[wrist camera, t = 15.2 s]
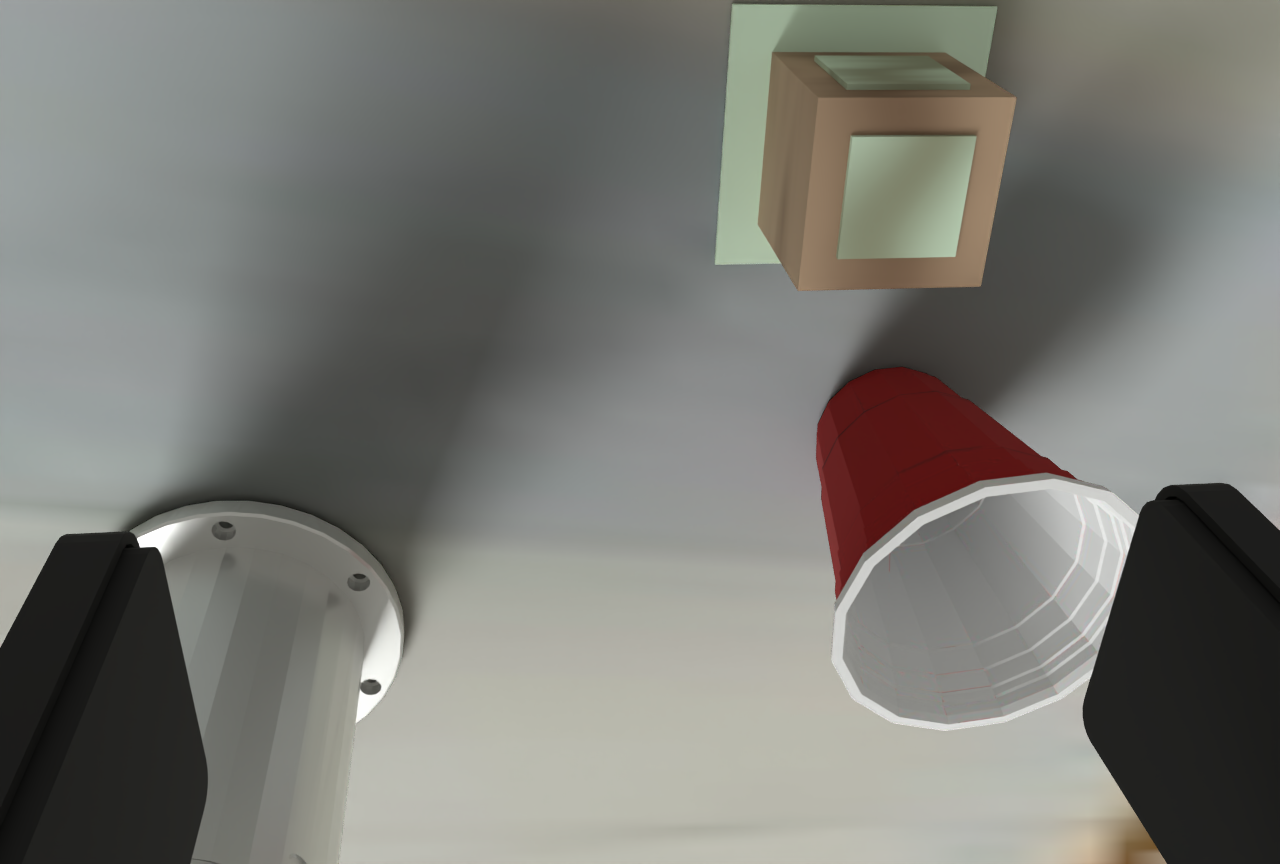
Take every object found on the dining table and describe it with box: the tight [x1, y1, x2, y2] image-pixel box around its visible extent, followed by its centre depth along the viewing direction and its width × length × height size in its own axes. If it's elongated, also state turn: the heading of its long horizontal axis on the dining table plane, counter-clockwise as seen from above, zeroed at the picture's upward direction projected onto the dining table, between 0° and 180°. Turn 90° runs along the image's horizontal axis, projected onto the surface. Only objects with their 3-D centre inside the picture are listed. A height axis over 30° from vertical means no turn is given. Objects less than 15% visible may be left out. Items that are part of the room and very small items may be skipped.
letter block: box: [758, 52, 1017, 291], centre depth 38 cm, size 6×6×6 cm
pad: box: [715, 4, 998, 265], centre depth 40 cm, size 9×9×1 cm
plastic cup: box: [816, 367, 1139, 731], centre depth 42 cm, size 11×11×12 cm
